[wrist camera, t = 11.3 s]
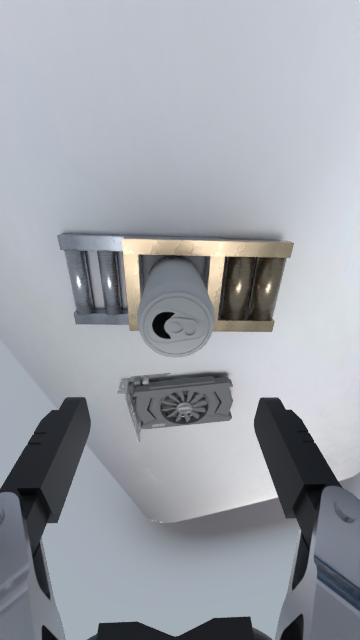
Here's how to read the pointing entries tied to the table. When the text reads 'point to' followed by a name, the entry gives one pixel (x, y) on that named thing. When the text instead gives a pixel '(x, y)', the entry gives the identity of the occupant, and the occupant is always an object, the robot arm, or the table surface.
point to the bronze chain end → (219, 276)
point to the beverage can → (175, 309)
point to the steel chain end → (108, 272)
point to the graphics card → (176, 400)
